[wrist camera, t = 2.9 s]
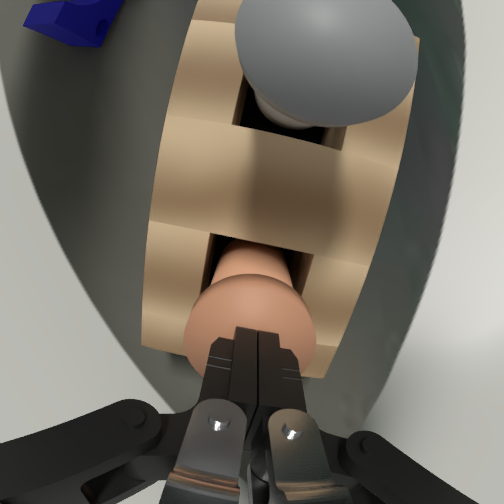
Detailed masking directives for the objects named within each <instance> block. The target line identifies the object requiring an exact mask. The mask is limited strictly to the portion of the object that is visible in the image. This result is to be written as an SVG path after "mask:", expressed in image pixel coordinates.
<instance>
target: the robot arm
mask: <svg viewBox="0 0 504 504" xmlns="http://www.w3.org/2000/svg"><path fill="white" fill-rule="evenodd" d="M299 371H300V368H299V363H298V359H297V357H296V356H295V355H294V353H293V352H292V351H291V349H285V348H280V340H279V334H278V333H273V332H267V331H261V330H258V331H257V330H255V329H250V328H245V327H239V326H236V328H235V333H234V337H233V340H232V339H227V338H222V337H218V338H217V339H216V340H215V341H214V342H213V343H212V344H211V347H210V351H209V356H208V360H207V365H206V369H205V374H204V378H203V383H202V388H201V392H200V397H199V400H198V402H197V403H196V405H195V406H194V407H192V408H191V409H189V410H188V411H185V412H182V413H176V414H159V413H158V411H157V410H156V409H155V408H154V407H153V406H151V405H150V404H148V403H146V402H144V401H141V400H136V399H125V400H121V401H118V402H116V403H113V404H111V405H108V406H106V407H104V408H101V409H98V410H96V411H93V412H91V413H88V414H86V415H83V416H81V417H78V418H76V419H73V420H70V421H68V422H65V423H62V424H59V425H57V426H53V427H51V428H48V429H45V430H42V431H39V432H36V433H33V434H30V435H27V436H24V437H20V438H17V439H14V440H11V441H7V442H4V443H0V504H116V503H118V502H120V501H122V500H124V499H126V498H128V497H130V496H132V495H134V494H136V493H138V492H139V491H141V490H143V489H145V488H147V487H148V486H150V485H152V484H154V483H155V482H157V481H158V480H167V481H166V484H165V487H164V490H163V492H162V496H161V499H160V501H159V504H238V503H239V495H240V488H239V486H238V479H239V472H240V466H241V459H242V452H243V450H249V451H251V461H250V463H249V465H248V467H247V482H248V495H249V496H248V497H249V504H478V503H477V502H475V501H474V500H472V499H470V498H469V497H467V496H466V495H464V494H462V493H461V492H459V491H458V490H456V489H455V488H453V487H452V486H450V485H449V484H447V483H446V482H444V481H443V480H441V479H440V478H438V477H437V476H435V475H434V474H432V473H431V472H430V471H428V470H427V469H425V468H424V467H422V466H421V465H420V464H418V463H417V462H415V461H414V460H412V459H411V458H410V457H408V456H407V455H406V454H404V453H403V452H402V451H400V450H399V449H397V448H396V447H395V446H393V445H392V444H391V443H389V442H388V441H387V440H385V439H384V438H383V437H381V436H380V435H378V434H376V433H374V432H371V431H358V432H355V433H353V434H352V435H351V436H350V437H349V438H348V439H346V438H342V437H339V436H335V435H332V434H328V433H326V432H324V431H322V430H320V429H319V428H318V425H317V423H316V422H315V420H314V419H313V418H312V417H311V416H310V415H308V414H307V410H306V404H305V398H304V392H303V386H302V381H301V374H300V372H299ZM369 490H370V491H369ZM378 497H379V498H378ZM382 500H383V501H382Z"/></svg>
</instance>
